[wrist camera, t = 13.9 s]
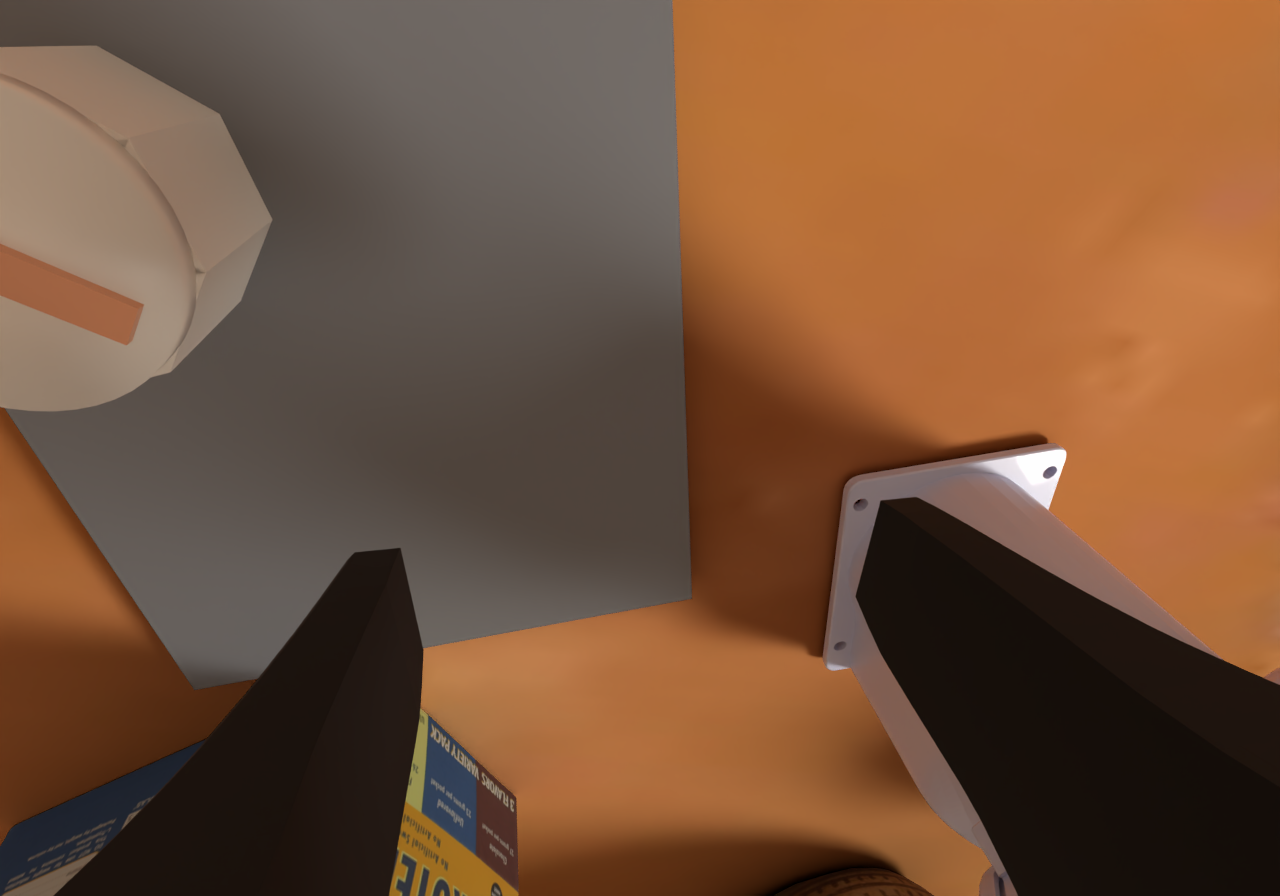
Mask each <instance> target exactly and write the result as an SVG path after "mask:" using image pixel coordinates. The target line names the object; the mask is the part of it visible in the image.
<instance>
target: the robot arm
mask: <svg viewBox="0 0 1280 896" xmlns="http://www.w3.org/2000/svg"><path fill="white" fill-rule="evenodd" d="M1065 459H1066V451H1065V449H1063V448H1062V447H1061V446H1059V445H1058V444H1056V443H1048V444H1042V445H1036V446H1030V447H1024V448H1018V449H1012V450H1006V451H1000V452H994V453H988V454H982V455H976V456H970V457H964V458H958V459H952V460H946V461H940V462H934V463H928V464H922V465H916V466H910V467H904V468H898V469H892V470H886V471H880V472H874V473H868V474H862V475H858V476H855V477H853V478H851V479H850V480H849V481H848V482H847V483H846V484H845V487H844V491H843V499H842V507H841V515H840V523H839V531H838V539H837V547H836V555H835V563H834V571H833V579H832V587H831V595H830V603H829V611H828V619H827V627H826V635H825V643H824V651H823V662H824V664H825V666H826V668H827V669H829V670H833V671H834V670H841V669H846V668H851V669H852V671H853V673H854V675H855V677H856V678H857V680H858V682H859V684H860V685H861V687H862V689H863V691H864V693H865V694H866V696H867V698H868V700H869V702H870V703H871V705H872V707H873V709H874V711H875V712H876V714H877V716H878V718H879V719H880V721H881V723H882V725H883V727H884V728H885V730H886V732H887V734H888V736H889V737H890V739H891V741H892V743H893V745H894V746H895V748H896V750H897V752H898V754H899V755H900V757H901V759H902V761H903V762H904V764H905V766H906V768H907V770H908V771H909V773H910V775H911V777H912V779H913V780H914V782H915V784H916V786H917V788H918V789H919V791H920V793H921V794H922V796H923V797H924V799H925V800H926V802H927V803H928V804H929V806H930V807H931V808H932V809H933V811H934V812H935V813H936V814H937V815H938V816H939V817H940V818H941V819H942V820H943V821H944V822H945V823H946V824H947V825H948V826H950V827H951V828H952V829H953V830H955V831H956V832H957V833H958V834H960V835H961V836H962V837H964V838H965V839H967V840H968V841H970V842H971V843H973V844H974V845H976V846H978V847H979V848H981V849H982V850H983V851H984V853H985V855H986V856H987V858H988V860H989V861H990V863H991V865H992V866H991V867H990V868H989V869H988V870H987V871H986V872H985V873H984V874H983V876H982V879H981V882H980V885H979V896H1280V668H1277V669H1275V670H1274V671H1272V672H1271V673H1270V674H1268V675H1267V676H1265V677H1264V678H1262V677H1260V676H1257V675H1255V674H1253V673H1250V672H1248V671H1246V670H1243V669H1241V668H1239V667H1237V666H1235V665H1233V664H1230V663H1228V662H1226V661H1224V660H1223V659H1221V658H1220V657H1219V656H1218V655H1217V654H1216V653H1214V652H1213V651H1212V650H1211V649H1210V648H1209V647H1207V646H1206V645H1205V644H1204V643H1203V642H1202V641H1200V640H1199V639H1198V638H1197V637H1196V636H1195V635H1193V634H1192V633H1191V632H1190V631H1189V630H1188V629H1186V628H1185V627H1184V626H1183V625H1182V624H1181V623H1179V622H1178V621H1177V620H1176V619H1175V618H1174V617H1172V616H1171V615H1170V614H1169V613H1168V612H1167V611H1165V610H1164V609H1163V608H1162V607H1161V606H1160V605H1158V604H1157V603H1156V602H1155V601H1154V600H1153V599H1151V598H1150V597H1149V596H1148V595H1147V594H1146V593H1144V592H1143V591H1142V590H1141V589H1140V588H1139V587H1137V586H1136V585H1135V584H1134V583H1133V582H1132V581H1130V580H1129V579H1128V578H1127V577H1126V576H1125V575H1123V574H1122V573H1121V572H1120V571H1119V570H1118V569H1116V568H1115V567H1114V566H1113V565H1112V564H1111V563H1109V562H1108V561H1107V560H1106V559H1105V558H1104V557H1102V556H1101V555H1100V554H1099V553H1098V552H1097V551H1095V550H1094V549H1093V548H1092V547H1091V546H1090V545H1088V544H1087V543H1086V542H1085V541H1084V540H1083V539H1081V538H1080V537H1079V536H1078V535H1077V534H1076V533H1074V532H1073V531H1072V530H1071V529H1070V528H1069V527H1067V526H1066V525H1065V524H1064V523H1063V522H1062V521H1060V520H1059V519H1058V518H1057V517H1056V516H1055V515H1053V514H1052V513H1051V512H1050V511H1049V510H1048V509H1049V506H1050V503H1051V500H1052V497H1053V494H1054V491H1055V488H1056V486H1057V483H1058V480H1059V477H1060V474H1061V471H1062V468H1063V465H1064V462H1065ZM859 499H862V500H861V501H860V502H859V503H857V504H854V503H855V502H856V501H857V500H859ZM422 670H423V646H422V641H421V637H420V632H419V628H418V623H417V619H416V614H415V610H414V605H413V601H412V597H411V592H410V588H409V583H408V579H407V574H406V570H405V565H404V561H403V556H402V552H401V548H393V549H383V550H373V551H363V552H354V553H353V554H352V555H351V556H350V558H349V559H348V560H347V561H346V562H345V564H344V565H343V567H342V568H341V569H340V571H339V572H338V573H337V575H336V576H335V578H334V579H333V580H332V582H331V583H330V585H329V586H328V587H327V589H326V590H325V592H324V593H323V594H322V596H321V597H320V598H319V600H318V601H317V603H316V604H315V605H314V607H313V608H312V609H311V611H310V612H309V613H308V615H307V616H306V617H305V619H304V620H303V621H302V623H301V624H300V625H299V627H298V628H297V629H296V631H295V632H294V633H293V635H292V636H291V637H290V638H289V640H288V641H287V642H286V644H285V645H284V646H283V647H282V649H281V650H280V651H279V652H278V654H277V655H276V656H275V658H274V659H273V660H272V661H271V663H270V664H269V665H268V666H267V668H266V669H265V670H264V672H263V673H262V674H261V675H260V677H259V678H258V679H257V680H256V682H255V683H254V684H253V685H252V687H251V688H250V689H249V690H248V691H247V693H246V694H245V695H244V696H243V697H242V698H241V700H240V701H239V702H238V703H237V704H236V705H235V707H234V708H233V709H232V710H231V711H230V712H229V714H228V715H227V716H226V717H225V718H224V719H223V720H222V722H221V723H220V724H219V725H218V726H217V727H216V729H215V730H214V731H213V732H212V733H211V734H210V736H209V737H208V738H207V739H206V740H205V741H204V743H203V744H202V745H201V746H200V747H199V748H198V749H197V751H196V752H195V753H194V754H193V755H192V756H191V757H190V758H189V759H188V761H187V762H186V763H185V764H184V765H183V766H182V767H181V768H180V769H179V770H178V771H177V772H176V774H175V775H174V776H173V777H172V778H171V779H170V780H169V781H168V782H167V783H166V784H165V785H164V786H163V787H162V789H161V790H160V791H159V792H158V793H157V794H156V795H155V796H154V797H153V798H152V799H151V800H150V801H149V802H148V803H147V804H146V805H145V806H144V807H143V808H142V809H141V810H140V811H139V812H138V813H137V814H136V815H135V816H134V817H133V818H132V819H131V821H130V822H129V823H128V824H127V825H126V826H125V827H124V828H123V829H122V830H121V831H120V832H119V833H118V834H117V835H116V836H115V837H114V838H113V839H112V840H111V841H110V842H109V843H108V844H107V845H106V846H105V847H104V848H103V849H102V850H101V851H100V852H99V853H97V854H96V855H95V856H94V857H93V858H92V859H91V860H90V861H89V862H88V863H87V864H86V865H85V866H84V867H83V868H82V869H81V870H80V871H79V872H78V873H76V874H75V875H74V876H73V877H72V878H71V879H70V880H69V881H68V882H67V883H66V884H65V885H64V886H63V887H62V888H61V889H60V890H59V891H58V892H57V893H56V894H54V895H53V896H389V893H390V887H391V881H392V875H393V869H394V864H395V858H396V852H397V847H398V841H399V835H400V830H401V824H402V818H403V813H404V807H405V801H406V796H407V790H408V784H409V779H410V773H411V767H412V761H413V755H414V749H415V744H416V738H417V732H418V725H419V719H420V705H421V689H422Z"/></svg>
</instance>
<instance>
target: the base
mask: <svg viewBox="0 0 1280 896" xmlns="http://www.w3.org/2000/svg"><path fill="white" fill-rule="evenodd" d="M31 46H98V47H100V48H102V49H104V50H105V51H107V52H109V53H111V54H113V55H114V56H116V57H118V58H120V59H122V60H123V61H125V62H127V63H129V64H131V65H132V66H134V67H136V68H138V69H140V70H141V71H143V72H145V73H147V74H149V75H150V76H152V77H154V78H156V79H158V80H159V81H161V82H163V83H165V84H167V85H168V86H170V87H172V88H174V89H176V90H177V91H179V92H181V93H183V94H185V95H186V96H188V97H190V98H192V99H194V100H195V101H197V102H199V103H201V104H203V105H204V106H206V107H208V108H210V109H212V110H214V111H215V112H217V113H219V114H220V116H221V118H222V120H223V122H224V124H225V126H226V128H227V130H228V132H229V134H230V136H231V138H232V140H233V142H234V144H235V146H236V148H237V150H238V152H239V154H240V156H241V158H242V160H243V162H244V164H245V166H246V168H247V170H248V172H249V174H250V176H251V178H252V180H253V182H254V184H255V186H256V188H257V190H258V192H259V194H260V196H261V198H262V200H263V202H264V204H265V206H266V208H267V210H268V212H269V214H270V216H271V218H272V222H271V225H270V227H269V230H268V232H267V235H266V237H265V240H264V243H263V245H262V248H261V250H260V253H259V255H258V258H257V261H256V263H255V266H254V268H253V271H252V273H251V276H250V279H249V281H248V284H247V286H246V289H245V291H244V294H243V296H242V299H241V301H240V302H239V303H238V304H237V305H236V306H235V307H234V308H233V309H232V310H231V311H230V312H229V313H228V314H227V316H226V317H225V318H224V319H223V320H222V321H221V322H220V323H219V324H218V325H217V326H216V327H215V328H214V329H213V330H212V331H211V332H210V333H209V334H208V335H207V336H206V337H205V338H204V339H203V340H202V341H201V342H200V343H199V344H198V345H197V346H196V347H195V348H194V349H193V350H192V351H191V352H190V353H189V354H188V355H187V356H186V357H185V358H184V359H183V360H182V361H181V362H180V363H179V364H178V365H177V366H176V367H175V368H174V369H173V370H172V371H171V372H170V373H166V374H162V375H158V376H154V377H150V378H149V379H148V380H147V381H146V382H144V383H143V384H142V385H140V386H139V387H137V388H136V389H134V390H133V391H131V392H129V393H127V394H125V395H123V396H121V397H119V398H117V399H115V400H112V401H109V402H106V403H103V404H100V405H97V406H92V407H87V408H82V409H77V410H66V411H26V410H17V409H9V408H5V410H6V411H7V413H8V414H9V416H10V417H11V419H12V420H13V422H14V423H15V425H16V426H17V428H18V429H19V430H20V432H21V433H22V435H23V436H24V438H25V439H26V441H27V442H28V444H29V445H30V447H31V448H32V450H33V451H34V453H35V454H36V456H37V457H38V459H39V460H40V462H41V463H42V465H43V466H44V468H45V469H46V471H47V472H48V474H49V475H50V476H51V478H52V479H53V481H54V482H55V484H56V485H57V487H58V488H59V490H60V491H61V493H62V494H63V496H64V497H65V499H66V500H67V502H68V503H69V505H70V506H71V508H72V509H73V511H74V512H75V514H76V515H77V517H78V518H79V520H80V521H81V522H82V524H83V525H84V527H85V528H86V530H87V531H88V533H89V534H90V536H91V537H92V539H93V540H94V542H95V543H96V545H97V546H98V548H99V549H100V551H101V552H102V554H103V555H104V557H105V558H106V560H107V561H108V563H109V564H110V566H111V567H112V568H113V570H114V571H115V573H116V574H117V576H118V577H119V579H120V580H121V582H122V583H123V585H124V586H125V588H126V589H127V591H128V592H129V594H130V595H131V597H132V598H133V600H134V601H135V603H136V604H137V606H138V607H139V609H140V610H141V612H142V613H143V615H144V616H145V617H146V619H147V620H148V622H149V623H150V625H151V626H152V628H153V629H154V631H155V632H156V634H157V635H158V637H159V638H160V640H161V641H162V643H163V644H164V646H165V647H166V649H167V650H168V652H169V653H170V655H171V656H172V658H173V659H174V661H175V662H176V663H177V665H178V666H179V668H180V669H181V671H182V672H183V674H184V675H185V677H186V678H187V680H188V681H189V683H190V684H191V686H192V687H193V689H194V690H198V689H204V688H209V687H214V686H220V685H225V684H231V683H236V682H242V681H247V680H252V679H258V678H259V677H260V675H261V674H262V673H263V672H264V670H265V669H266V668H267V666H268V665H269V664H270V663H271V661H272V660H273V659H274V658H275V656H276V655H277V654H278V652H279V651H280V650H281V649H282V647H283V646H284V645H285V644H286V642H287V641H288V640H289V638H290V637H291V636H292V635H293V633H294V632H295V631H296V629H297V628H298V627H299V625H300V624H301V623H302V621H303V620H304V619H305V617H306V616H307V615H308V613H309V612H310V611H311V609H312V608H313V607H314V605H315V604H316V603H317V601H318V600H319V598H320V597H321V596H322V594H323V593H324V592H325V590H326V589H327V587H328V586H329V585H330V583H331V582H332V580H333V579H334V578H335V576H336V575H337V573H338V572H339V571H340V569H341V568H342V567H343V565H344V564H345V562H346V561H347V560H348V559H349V558H350V556H351V555H352V554H353V553H354V552H363V551H373V550H383V549H393V548H401V552H402V556H403V561H404V565H405V570H406V574H407V579H408V583H409V588H410V592H411V597H412V601H413V605H414V610H415V614H416V619H417V623H418V628H419V632H420V637H421V641H422V646H423V648H426V647H432V646H437V645H443V644H448V643H454V642H459V641H465V640H470V639H475V638H481V637H486V636H492V635H497V634H503V633H508V632H513V631H519V630H524V629H530V628H535V627H541V626H546V625H552V624H557V623H562V622H568V621H573V620H579V619H584V618H590V617H595V616H600V615H606V614H611V613H617V612H622V611H628V610H633V609H639V608H644V607H649V606H655V605H660V604H666V603H671V602H677V601H682V600H687V599H692V584H691V553H690V523H689V493H688V463H687V432H686V402H685V372H684V342H683V311H682V281H681V251H680V220H679V190H678V160H677V130H676V99H675V69H674V39H673V9H672V0H0V47H31Z"/></svg>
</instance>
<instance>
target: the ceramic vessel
mask: <svg viewBox="0 0 1280 896" xmlns="http://www.w3.org/2000/svg"><path fill="white" fill-rule="evenodd" d="M774 896H934V895H932V894H931V893H929V892H928V891H926V890H925V889H924V888H922V887H921V886H919V885H917V884H916V883H914V882H912V881H910V880H909V879H907V878H905V877H903V876H901V875H899V874H896V873H894V872H891V871H889V870H886V869H879V868H850V869H846V870H842V871H838V872H834V873H830V874H826V875H823V876H820V877H817V878H814V879H811V880H807V881H804V882H800V883H797V884H795V885H793V886H791V887H789V888H787V889H785V890H783V891H781V892H780V893H778V894H776V895H774Z"/></svg>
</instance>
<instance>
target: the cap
mask: <svg viewBox="0 0 1280 896" xmlns="http://www.w3.org/2000/svg"><path fill="white" fill-rule="evenodd" d="M271 222H272V218H271V216H270V214H269V212H268V210H267V208H266V206H265V204H264V202H263V200H262V198H261V196H260V194H259V192H258V190H257V188H256V186H255V184H254V182H253V180H252V178H251V176H250V174H249V172H248V170H247V168H246V166H245V164H244V162H243V160H242V158H241V156H240V154H239V152H238V150H237V148H236V146H235V144H234V142H233V140H232V138H231V136H230V134H229V132H228V130H227V128H226V126H225V124H224V122H223V120H222V118H221V116H220V114H219V113H217V112H215V111H214V110H212V109H210V108H208V107H206V106H204V105H203V104H201V103H199V102H197V101H195V100H194V99H192V98H190V97H188V96H186V95H185V94H183V93H181V92H179V91H177V90H176V89H174V88H172V87H170V86H168V85H167V84H165V83H163V82H161V81H159V80H158V79H156V78H154V77H152V76H150V75H149V74H147V73H145V72H143V71H141V70H140V69H138V68H136V67H134V66H132V65H131V64H129V63H127V62H125V61H123V60H122V59H120V58H118V57H116V56H114V55H113V54H111V53H109V52H107V51H105V50H104V49H102V48H100V47H98V46H31V47H0V407H2V408H9V409H17V410H26V411H66V410H77V409H82V408H87V407H92V406H97V405H100V404H103V403H106V402H109V401H112V400H115V399H117V398H119V397H121V396H123V395H125V394H127V393H129V392H131V391H133V390H134V389H136V388H137V387H139V386H140V385H142V384H143V383H144V382H146V381H147V380H148V379H149V378H150V377H154V376H158V375H162V374H166V373H170V372H171V371H172V370H173V369H174V368H175V367H176V366H177V365H178V364H179V363H180V362H181V361H182V360H183V359H184V358H185V357H186V356H187V355H188V354H189V353H190V352H191V351H192V350H193V349H194V348H195V347H196V346H197V345H198V344H199V343H200V342H201V341H202V340H203V339H204V338H205V337H206V336H207V335H208V334H209V333H210V332H211V331H212V330H213V329H214V328H215V327H216V326H217V325H218V324H219V323H220V322H221V321H222V320H223V319H224V318H225V317H226V316H227V314H228V313H229V312H230V311H231V310H232V309H233V308H234V307H235V306H236V305H237V304H238V303H239V302H240V301H241V299H242V296H243V294H244V291H245V289H246V286H247V284H248V281H249V279H250V276H251V273H252V271H253V268H254V266H255V263H256V261H257V258H258V255H259V253H260V250H261V248H262V245H263V243H264V240H265V237H266V235H267V232H268V230H269V227H270V225H271Z"/></svg>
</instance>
